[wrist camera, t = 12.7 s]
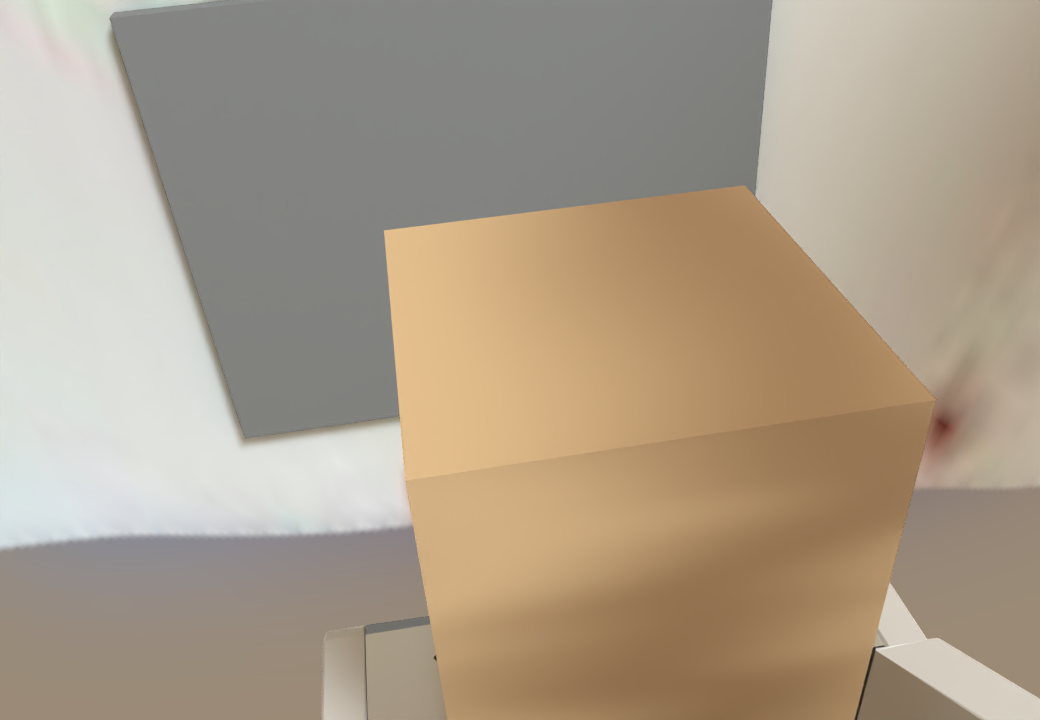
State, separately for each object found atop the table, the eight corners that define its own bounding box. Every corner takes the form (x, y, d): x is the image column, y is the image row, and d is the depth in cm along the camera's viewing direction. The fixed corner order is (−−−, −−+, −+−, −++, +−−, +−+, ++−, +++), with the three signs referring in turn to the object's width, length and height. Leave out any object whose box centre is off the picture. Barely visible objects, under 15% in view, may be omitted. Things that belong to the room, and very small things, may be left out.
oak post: (512, 1089, 13) (405, 481, 6) (478, 823, 17) (384, 230, 10) (774, 1030, 14) (936, 399, 7) (691, 782, 17) (744, 185, 10)
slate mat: (770, -59, 28) (777, -55, 28) (734, 358, 38) (739, 366, 37) (113, 12, 27) (109, 18, 26) (246, 428, 36) (245, 438, 36)
